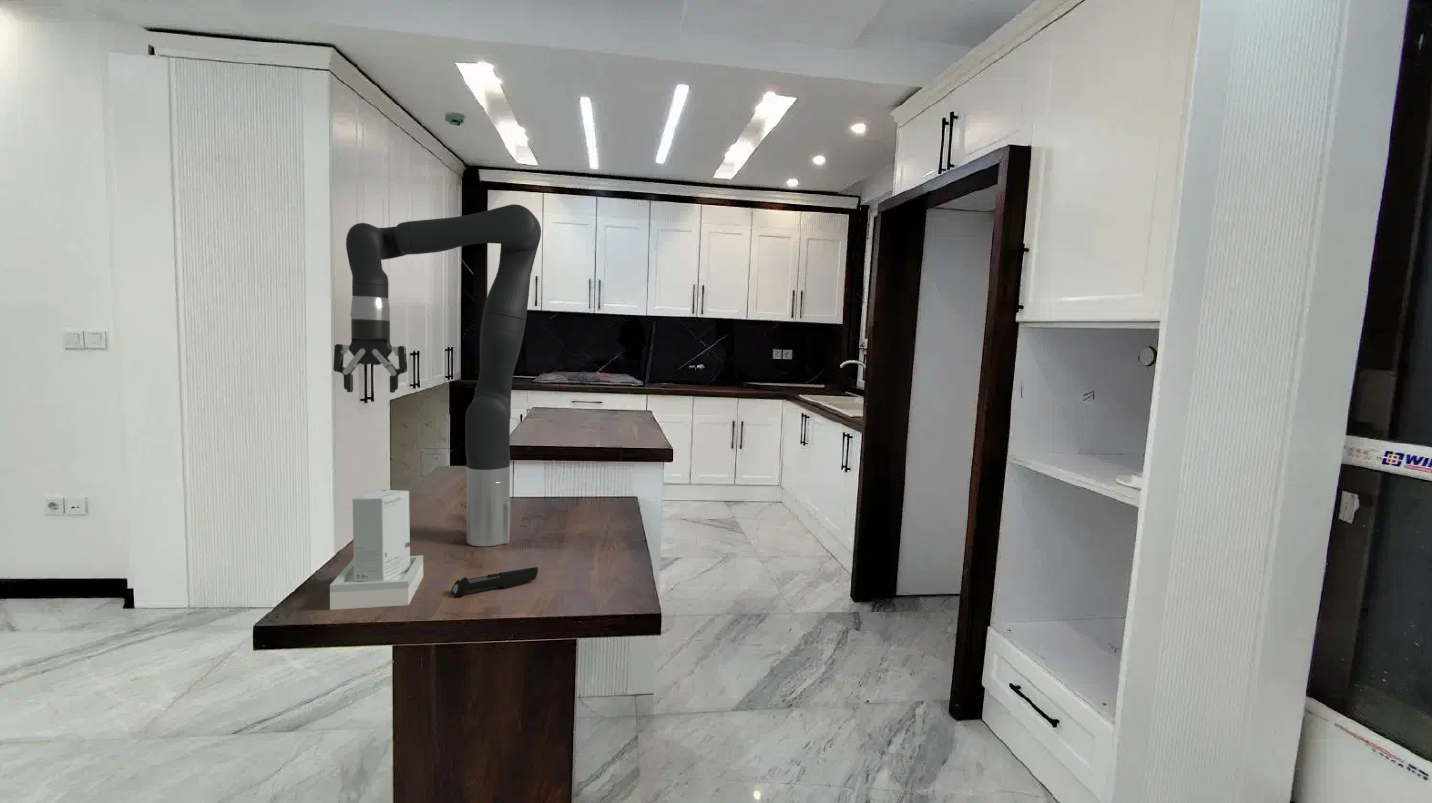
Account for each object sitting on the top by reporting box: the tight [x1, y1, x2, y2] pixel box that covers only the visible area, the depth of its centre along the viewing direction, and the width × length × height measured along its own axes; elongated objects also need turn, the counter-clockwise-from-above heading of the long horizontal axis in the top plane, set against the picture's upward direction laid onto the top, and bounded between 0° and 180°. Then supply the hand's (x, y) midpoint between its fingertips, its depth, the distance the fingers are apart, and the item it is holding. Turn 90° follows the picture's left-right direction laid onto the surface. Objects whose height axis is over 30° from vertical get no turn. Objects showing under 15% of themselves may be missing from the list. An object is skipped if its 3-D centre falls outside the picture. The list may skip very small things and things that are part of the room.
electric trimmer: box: [450, 566, 539, 599], centre depth 122 cm, size 4×16×3 cm, turn 125°
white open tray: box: [329, 554, 424, 611], centre depth 117 cm, size 12×14×4 cm
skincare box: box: [352, 489, 411, 582], centre depth 117 cm, size 8×6×15 cm
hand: (371, 392), depth 145 cm, fingers open, 8 cm apart
